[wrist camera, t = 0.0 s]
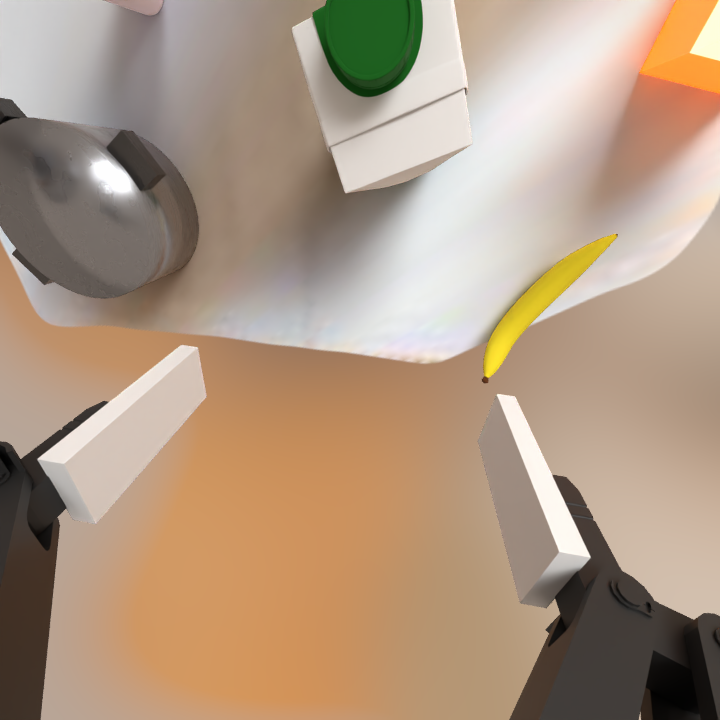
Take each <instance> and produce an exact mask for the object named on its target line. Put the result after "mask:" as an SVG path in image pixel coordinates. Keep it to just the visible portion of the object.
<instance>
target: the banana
mask: <svg viewBox="0 0 720 720" xmlns="http://www.w3.org/2000/svg"><path fill="white" fill-rule="evenodd" d="M617 237H618V234H613V235H610V236H607V237H603V238H601V239H598V240H596V241H594V242H592V243H590V244H588V245H586V246H584V247H582V248H580V249H579V250H577V251H575V252H573V253H571V254H570V255H568V256H567V257H565V258H564V259H562V260H561V261H560V262H558V263H557V264H556V265H554V266H553V267H552V268H551V269H550V270H549V271H547V272H546V273H545V274H544V275H543V276H542V277H541V278H540V279H539V280H537V281H536V282H535V283H534V284H533V285H532V286H531V287H530V288H529V289H528V290H527V291H526V292H525V293H524V294H523V295H522V296H521V297H520V298H519V300H518V301H517V302H516V303H515V304H514V305H513V306H512V307H511V308H510V310H509V311H508V312H507V313H506V314H505V316H504V317H503V318H502V320H501V321H500V322H499V324H498V325H497V327H496V329H495V330H494V332H493V333H492V335H491V337H490V339H489V341H488V344H487V347H486V351H485V355H484V363H483V370H484V378H483V379H482V382H483V383H488V378H489V377H490V376H492V375H493V374H494V373H495V372H496V371H497V369H498V368H499V367H500V366H501V364H502V363H503V361H504V359H505V358H506V356H507V354H508V352H509V351H510V349H511V347H512V346H513V344H514V343H515V342H516V340H517V339H518V338H519V337H520V335H521V334H522V333H523V332H524V331H525V330H526V329H527V327H528V326H529V325H530V324H531V323H532V322H533V321H534V320H535V319H536V318H537V317H538V316H539V315H540V314H541V313H542V312H543V311H544V310H545V309H546V308H547V307H548V306H549V305H550V304H551V303H552V302H553V301H554V300H555V299H556V298H558V297H559V296H560V295H561V294H562V293H563V292H564V291H565V290H566V289H567V288H568V287H569V286H570V285H571V284H572V283H573V282H574V281H575V280H576V279H578V278H579V277H580V276H581V275H582V274H583V273H584V272H585V271H586V270H587V269H588V268H589V267H590V266H591V265H592V263H593V262H594V261H595V260H596V259H597V258H598V257H599V256H600V255H601V254H602V253H603V252H604V251H605V250H606V249H607V248H608V247H609V245H610V244H611V243H612V242H613V241H614V240H615V239H616V238H617Z"/></svg>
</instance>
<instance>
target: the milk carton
mask: <svg viewBox="0 0 720 720" xmlns="http://www.w3.org/2000/svg"><path fill="white" fill-rule="evenodd" d="M292 35H293V38H294V41H295V44H296V48H297V51H298V54H299V58H300V62H301V65H302V69H303V72H304V76H305V79H306V83H307V86H308V89H309V92H310V96H311V99H312V102H313V105H314V108H315V111H316V114H317V117H318V120H319V124H320V127H321V131H322V135H323V138H324V141H325V144H326V147H327V150H328V152H329V153H332V155H333V158H334V161H335V164H336V167H337V170H338V174H339V177H340V180H341V183H342V186H343V189H344V192H345V193H351V192H357V191H364V190H371V189H378V188H385V187H390V186H393V185H396V184H400V183H403V182H406V181H409V180H411V179H414V178H416V177H418V176H420V175H422V174H424V173H427V172H429V171H431V170H432V169H434V168H436V167H437V166H439V165H440V164H442V163H443V162H445V161H446V160H448V159H449V158H451V157H452V156H454V155H455V154H457V153H459V152H460V151H462V150H464V149H465V148H467V147H468V146H470V145H472V135H471V128H470V122H469V115H468V109H467V102H466V95H467V93H468V83H467V76H466V70H465V64H464V61H463V55H462V49H461V42H460V36H459V30H458V24H457V17H456V11H455V5H454V0H327V1H326V5H325V6H323V7H322V8H320V9H318V10H316V11H314V12H313V17H311V18H309V19H307V20H305V21H303V22H301V23H299V24H297V25H296V26H294V27H293V28H292Z"/></svg>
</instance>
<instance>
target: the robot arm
mask: <svg viewBox="0 0 720 720" xmlns="http://www.w3.org/2000/svg"><path fill="white" fill-rule="evenodd" d="M206 397H207V396H206V391H205V385H204V379H203V374H202V368H201V362H200V356H199V351H198V347H192V346H185V345H181V346H179V347H178V348H177V349H176V350H174V351H173V352H172V353H170V354H169V355H168V356H167V357H166V358H164V359H163V360H162V361H160V362H159V363H158V364H157V365H155V366H154V367H153V368H152V369H150V370H149V371H148V372H147V373H145V374H144V375H143V376H141V377H140V378H139V379H138V380H136V381H135V382H134V383H133V384H131V385H130V386H129V387H128V388H126V389H125V390H124V391H123V392H121V393H120V394H119V395H118V396H116V397H115V398H114V399H112V400H111V401H110V402H107V401H103V402H101V403H99V404H97V405H94V406H92V407H90V408H88V409H86V410H85V411H84V412H82V413H81V414H80V415H79V416H77V417H76V418H74V420H73V421H71V422H69V423H68V424H67V425H65V426H64V427H63V429H62V430H59V431H57V432H56V433H55V434H53V435H52V436H51V437H49V438H48V439H47V440H46V441H44V442H43V443H42V444H40V445H39V446H38V447H37V448H35V449H34V450H33V451H31V452H30V453H28V454H27V455H26V456H24V457H23V458H22V459H20V458H19V456H18V454H17V453H16V451H15V450H14V448H13V446H12V445H10V444H9V443H7V442H0V720H40V718H41V709H42V699H43V689H44V679H45V668H46V658H47V648H48V637H49V628H50V618H51V608H52V598H53V588H54V578H55V567H56V558H57V547H58V538H59V527H60V525H59V520H58V518H57V517H58V516H59V515H60V514H61V513H62V512H63V511H64V510H65V509H67V511H68V512H69V514H70V516H71V517H72V519H73V520H77V521H82V522H87V523H92V524H96V523H97V522H98V521H99V520H100V519H101V518H102V516H103V515H104V514H105V513H106V512H107V511H108V510H109V509H110V507H111V506H112V505H113V504H114V503H115V502H116V501H117V499H118V498H119V497H120V496H121V495H122V493H123V492H124V491H125V490H126V489H127V488H128V487H129V485H130V484H131V483H132V482H133V481H134V480H135V479H136V477H137V476H138V475H139V474H140V473H141V472H142V470H143V469H144V468H145V467H146V466H147V465H148V464H149V463H150V461H151V460H152V459H153V458H154V457H155V456H156V454H157V453H158V452H159V451H160V450H161V449H162V447H163V446H164V445H165V444H166V443H167V442H168V441H169V439H170V438H171V437H172V436H173V435H174V434H175V432H176V431H177V430H178V429H179V428H180V427H181V426H182V424H183V423H184V422H185V421H186V420H187V419H188V417H189V416H190V415H191V414H192V413H193V412H194V411H195V409H196V408H197V407H198V406H199V405H200V404H201V403H202V401H203V400H204V399H205V398H206ZM478 444H479V447H480V451H481V455H482V459H483V463H484V467H485V471H486V475H487V478H488V482H489V486H490V490H491V494H492V498H493V501H494V505H495V509H496V513H497V517H498V520H499V524H500V528H501V532H502V536H503V540H504V544H505V547H506V552H507V555H508V559H509V563H510V567H511V571H512V574H513V578H514V582H515V586H516V590H517V594H518V598H519V602H520V603H521V604H527V605H532V606H537V607H543V608H547V607H548V606H549V605H550V603H551V602H552V601H553V600H554V599H556V602H557V605H558V608H559V611H560V615H559V616H558V617H557V618H556V619H555V620H554V621H553V622H552V623H551V624H550V625H549V627H548V628H547V629H546V631H547V632H548V633H549V635H548V637H547V639H546V641H545V644H544V646H543V648H542V650H541V652H540V654H539V657H538V659H537V661H536V663H535V665H534V667H533V670H532V672H531V674H530V676H529V678H528V680H527V683H526V685H525V687H524V689H523V691H522V693H521V696H520V698H519V700H518V702H517V704H516V707H515V709H514V711H513V713H512V715H511V718H510V720H639V714H640V711H641V720H720V616H718V615H716V614H711V613H704V614H702V615H701V616H699V617H698V618H696V619H695V620H693V619H691V618H689V617H687V616H685V615H683V614H680V613H678V612H676V611H674V610H672V609H670V608H668V607H665V606H664V605H661V604H659V603H658V602H656V601H654V599H653V598H652V596H651V595H650V594H649V593H648V592H647V590H646V589H645V588H644V586H642V585H641V584H640V583H639V582H638V581H637V580H635V579H634V578H633V577H632V576H630V575H628V574H626V573H624V572H623V571H622V570H621V568H620V567H619V565H618V563H617V561H616V559H615V557H614V556H613V554H612V552H611V550H610V548H609V546H608V544H607V542H606V541H605V539H604V537H603V535H602V533H601V531H600V529H599V528H598V526H597V524H596V522H595V521H594V520H593V516H592V514H591V512H590V511H589V509H588V508H587V505H586V503H585V501H584V500H583V497H582V496H581V494H580V492H579V491H578V489H577V488H576V487H575V486H574V485H573V484H572V483H571V482H570V481H569V480H568V479H567V477H563V476H557V475H552V474H551V472H550V470H549V468H548V466H547V464H546V462H545V459H544V457H543V455H542V453H541V451H540V449H539V447H538V444H537V442H536V441H535V438H534V436H533V434H532V432H531V430H530V428H529V425H528V423H527V421H526V419H525V417H524V415H523V413H522V411H521V408H520V407H519V404H518V402H517V400H516V398H515V397H514V396H507V395H501V394H496V397H495V399H494V402H493V404H492V407H491V409H490V412H489V414H488V417H487V419H486V422H485V424H484V426H483V429H482V431H481V434H480V436H479V439H478Z"/></svg>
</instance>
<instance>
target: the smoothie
mask: <svg viewBox="0 0 720 720" xmlns="http://www.w3.org/2000/svg"><path fill="white" fill-rule="evenodd" d="M104 1H107V2H110V3H113V4H115V5H118V6H121V7H124V8H127V9H130V10H133V11H136V12H139V13H141V14H144V15H148V16H152V15H155V14H157V13H158V12H159V11H160V9H161V8H162V5H163V1H164V0H104Z"/></svg>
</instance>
